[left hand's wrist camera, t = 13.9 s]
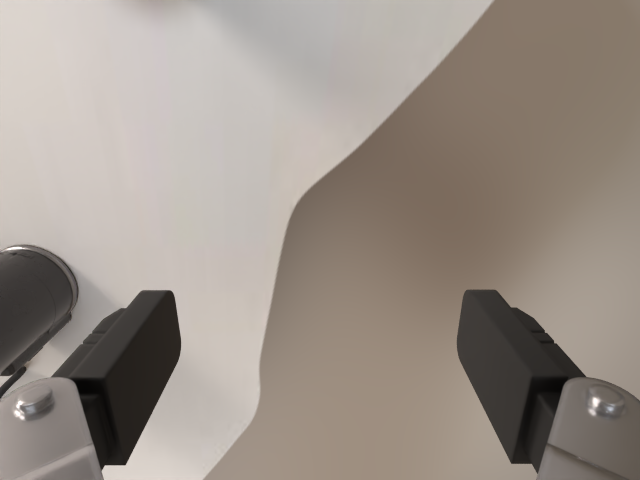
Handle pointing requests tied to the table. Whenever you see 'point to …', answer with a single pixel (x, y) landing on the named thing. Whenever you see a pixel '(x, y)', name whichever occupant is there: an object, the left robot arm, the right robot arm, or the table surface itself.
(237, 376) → the table surface
